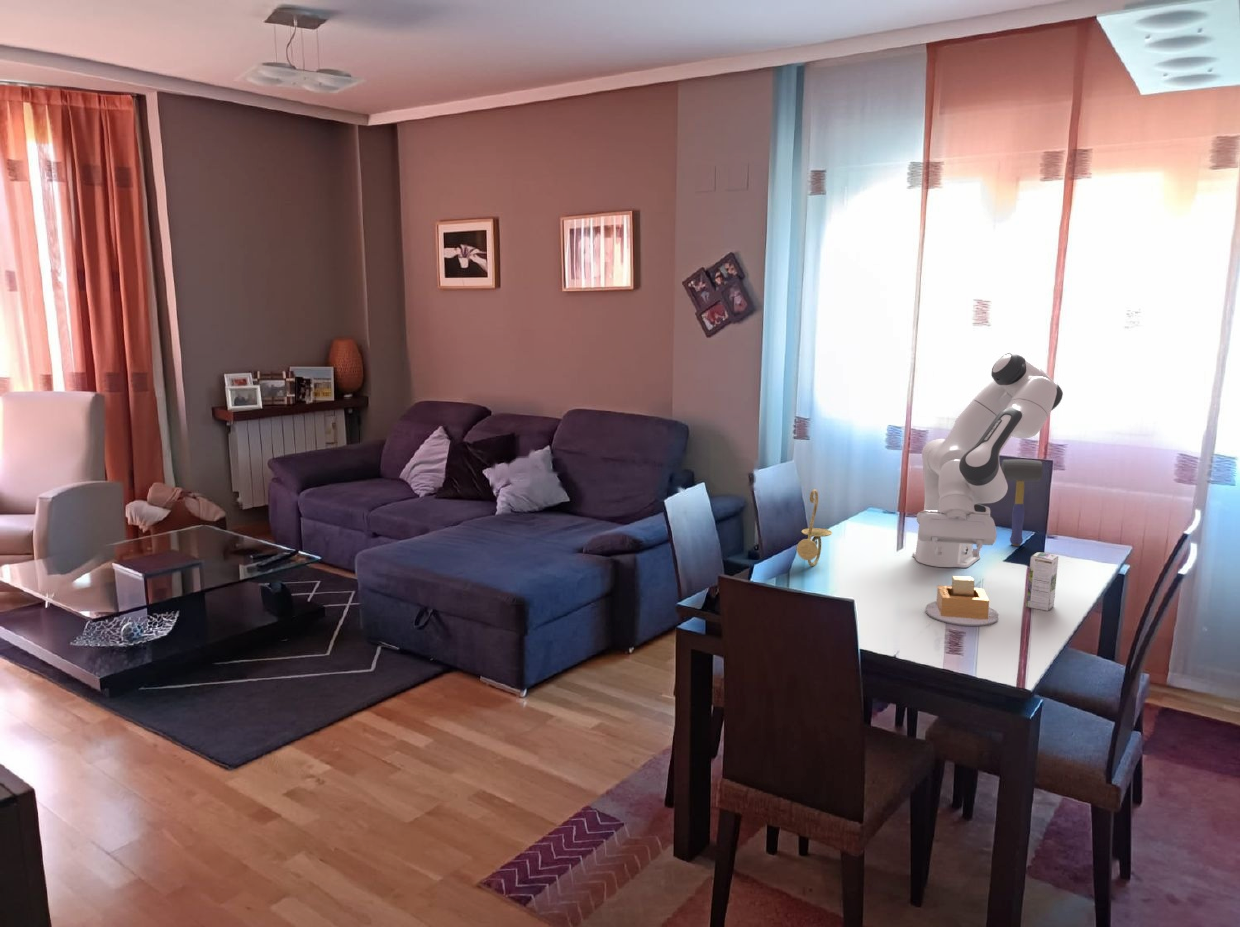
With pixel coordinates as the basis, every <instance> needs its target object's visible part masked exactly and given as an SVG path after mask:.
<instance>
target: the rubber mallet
mask: <svg viewBox="0 0 1240 927" xmlns="http://www.w3.org/2000/svg"><path fill="white" fill-rule="evenodd" d="M1000 467H1001V469H1002V472H1003V474H1004V476H1005V479H1006V481H1016V487H1015V497H1014V498H1015V500H1014V504H1013V508H1012V513H1011V514H1012V515H1011V523H1012V524H1011V534H1010V537H1009V542H1010V544H1011V545H1012V546H1015V547H1018V546H1021V545H1022V544H1023V541H1024V539H1023V527H1024V526H1023V525H1024V520H1025V505H1024V495H1025V482H1040V481H1041V480H1042V478H1043V474H1044V473H1043V471H1044V470H1043V462H1042V461H1041V460H1036V459H1034V460H1033V459H1024V458H1023V459H1022V458H1019V459H1015V458H1013V459H1011V458H1010V459H1003V460H1001V465H1000Z"/></svg>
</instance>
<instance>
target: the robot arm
mask: <svg viewBox="0 0 1240 927" xmlns="http://www.w3.org/2000/svg"><path fill="white" fill-rule="evenodd" d="M990 374H991V378H992V379H993V381H991V382H990V383H989V384H987V386H985V387H984V388H983V389H982V390H981V391H980V392H979V393H978V394H977V395H976V396H974V398H973V399H972V400H971V401H970V403H969V404H968V405H967V406H966V407H965V409H963V411H962V412H961V413H960V414H959V416H957V418H956V420H955V421H954V425H953V427H952V428H951V430H950V431H949V433H948V435H947V436H946V438H945V439H944V438H936V439H933V440H930V441H928V442H927V443H925V445H923V448H922V451H921V458H922V472H923V486H924V506H923V507H924V508H923V510H922V511H919V512H918V513H917V514H916V522H917V523H918V530H917V541H916V548H915V551H914V552H912V554H911V555H912V557H913V558H915V561H917V562H918V563H919V564H923V565H926V566H932V567H939V568H962V569H963V568H964V569H965V568H969V567H970V566H971V565H973V564H974V563H975V562H977V561H978V560H980V559H981V555H980V551H981V549H983V546H993V545H994V544H996V541H997V535H998V534H997V528H996V524H995V523H996V522H995V520H994V518H993V517H992V516H991V508H990V507H989V506H985V505H988V504H994V503H997V502H999V501H1001V500H1003V499H1004V497H1006V495H1007V494H1008V491H1009V485H1008V482H1007V481H1008V480H1006V479H1005V476H1004V474H1003V472H1002V469H1001V465H1000V454H1001V452H1002V450H1003V449H1004V447H1005V446H1006V445H1007V444H1008V442H1009V440H1010V438H1011V437H1014V438H1017V439H1029V438H1032V437H1033V438H1034V437H1035V436H1036V435H1037V434H1038V433H1039V432H1040V431H1041V430H1042V428H1043V427H1044V425H1045V423H1046V421H1047V420H1048V418H1049V416H1050V414H1051V412H1052V411H1053V410H1054V409H1055V408H1057V407H1058V406H1059V404H1060V403H1061V401H1062V400H1063V395H1064V394H1063V390H1062V388H1061V386H1060V385H1059V384H1058V383H1057V382H1055V381H1054V380H1053V379H1052V378H1051V377H1050V376H1049V375H1048V374H1047V373H1046V372H1045V371H1044V370H1042V368H1039V367H1038V366H1036V365H1035V364H1034V363H1032V362H1031V361H1029V360H1027V359H1026V358H1025V356H1024V355H1021V354H1020V353H1017V352H1013V351H1012V352H1009V353H1006V354H1004V355H1002V356H1001V357H999V359H998V360H997V361H995V363H994V364H993V366H992V368H991V373H990ZM974 545H976V548H974Z"/></svg>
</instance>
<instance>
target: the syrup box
mask: <svg viewBox="0 0 1240 927" xmlns="http://www.w3.org/2000/svg"><path fill="white" fill-rule="evenodd" d="M1059 558H1060V556H1059V555H1057V554H1052V553H1047V552H1040V551H1039V552H1036V553H1034V554H1032V555H1031V556H1030V562H1029V571H1028V572H1029V575H1028V582H1027V583H1028V584H1027V592H1026V593H1027V594H1026V595H1027V596H1026V604H1025V605H1026V608H1030V609H1034V610H1035V609H1036V610H1040V611H1047V612H1048V611H1050V610H1051V609H1052V608H1053V607H1054V606H1055V596H1056V595H1055V594H1056V587H1057V578H1058V577H1057V575H1058V567H1059V565H1058V564H1059Z"/></svg>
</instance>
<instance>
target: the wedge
mask: <svg viewBox="0 0 1240 927" xmlns="http://www.w3.org/2000/svg"><path fill="white" fill-rule="evenodd" d="M951 576H952V577H951V586H952V588H951V596H961V597H973V596H974V588H975V579H974V578H973V576H961V575H951Z"/></svg>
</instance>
